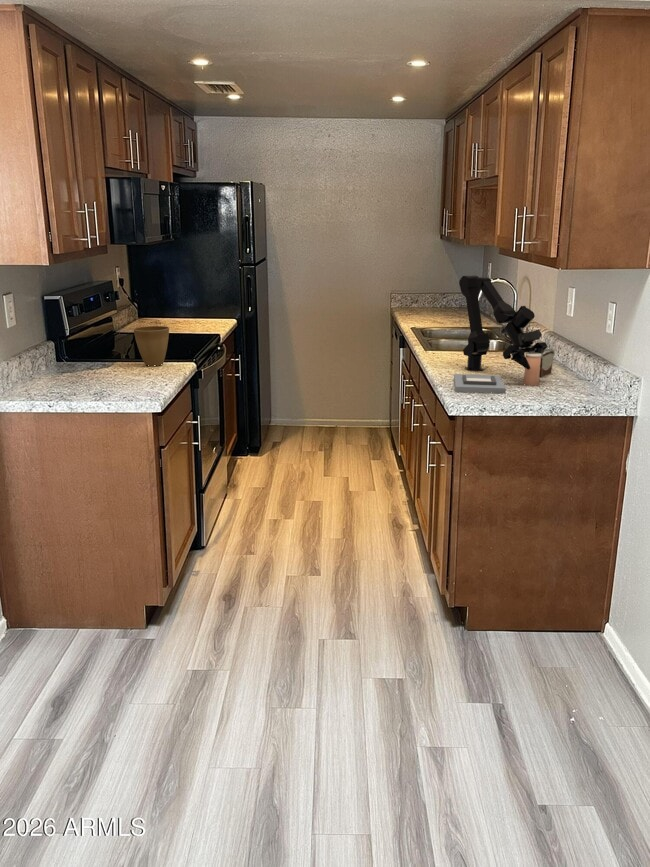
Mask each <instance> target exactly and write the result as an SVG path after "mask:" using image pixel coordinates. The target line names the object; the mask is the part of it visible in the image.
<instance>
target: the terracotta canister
mask: <svg viewBox="0 0 650 867" xmlns="http://www.w3.org/2000/svg"><path fill="white" fill-rule="evenodd" d="M525 357H526V359H527V361H528V363H529V366H530V369H529V370H528V369H526V368H525V367H524V371H523V372H524V374H523V385H524V384H525V385H524V386H527V385H532V386H531V387H536V386H535V385H538V386H539V384H540V383H539V381H540V377H539V373H540V362H541V353H535V352H526V353H525Z"/></svg>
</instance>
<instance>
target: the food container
mask: <svg viewBox="0 0 650 867" xmlns="http://www.w3.org/2000/svg"><path fill="white" fill-rule="evenodd" d="M554 356H555V349H553V348H546V349H545V350H544V351H543V352H542V353H541V365H542V367H541V368H540V373H539V378H543V377H547V376H549V375H552V371H553V363H554ZM546 375H547V376H546Z"/></svg>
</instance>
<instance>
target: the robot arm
mask: <svg viewBox="0 0 650 867" xmlns="http://www.w3.org/2000/svg"><path fill="white" fill-rule="evenodd" d="M458 284H459V288H460V293H461V294H462V295H463V296H464V297H465V302H466V309H467V315H468V323H469V330H470V333H469V335H468V338H467V345H466V346H465V347H464V348H463V350H462V352H463V356H466V357H467V365H466V366H464V369H466V370H467V371H469V370H477V371H484V368H482V356H486V355H487V354H488V350H489V348H490V344H491V341H490V335H489V333H486V332H485V331H484V330H483V323H482V317H481V316H482V315H481V308H480V301H479V294H480V292H482V294H483V296H484V297H485V298H486V300H487V301H488V303H489V304H490V306H491V308H492V310H493V313H492V314H493V317H494V319H495V321H496V323H498V324H502V329H501V334H507V336H508V338H509V340H510V341H508V342H509V344H510V345H508V346H507V347H506V348H505V350H503V352H502V357H503V359H504V360H511V361H514V363H515V362H516V363H517V364H518V365H521V366H522V367H524V369H525V368H526V369H528V370H529V369H530V366H529V363H528V361H527V359H526V353H528V352H535V353H542V352H543V351H544V350H545V349H548V344H547V343H546V342H545V341H538V340H540V339H541V338H542V336H543V335H542V332H541V330H540V329H535V330H533V331H528V332H524V329H525V328H527V326H528V325H529V324H530V323H531V322H532V321H533V319H535V317H536V316H535V313H534V311H532V310H531V309H530V308H528V307H527V306H526V305H521V306H520V307H519V308H518V310H517V311H516V310H515V309H514V308H513V307H512V306H511V305H510V304H509V303H507V302H505V301H504V299H503V298H502V296H501V295H500V294H499V292H498V291H497V289H496V287H495V286H494V284H493V283H492V280H491V278H490V277H487V276H485V277H483V276H482V277H480V276H478V275H476V274H475V275H463V276H461V278H460V279H459V281H458ZM503 324H506V325H503ZM535 341H538V342H536V343H535V344H534V342H535ZM533 344H534V345H533ZM531 345H533V346H531ZM541 367H542V365H541V362H540V368H541Z"/></svg>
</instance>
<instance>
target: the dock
mask: <svg viewBox="0 0 650 867" xmlns="http://www.w3.org/2000/svg"><path fill="white" fill-rule="evenodd" d="M453 383H454V391H455V393H470V392H488V393H487V394H499V393H505V394H506V390H507V388H506V386H505V383H504V381H503V379H502V376H501V374H482V373H481V374H479V373H478V374H477V373H475V374H474V373H453ZM491 392H492V393H491Z"/></svg>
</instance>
